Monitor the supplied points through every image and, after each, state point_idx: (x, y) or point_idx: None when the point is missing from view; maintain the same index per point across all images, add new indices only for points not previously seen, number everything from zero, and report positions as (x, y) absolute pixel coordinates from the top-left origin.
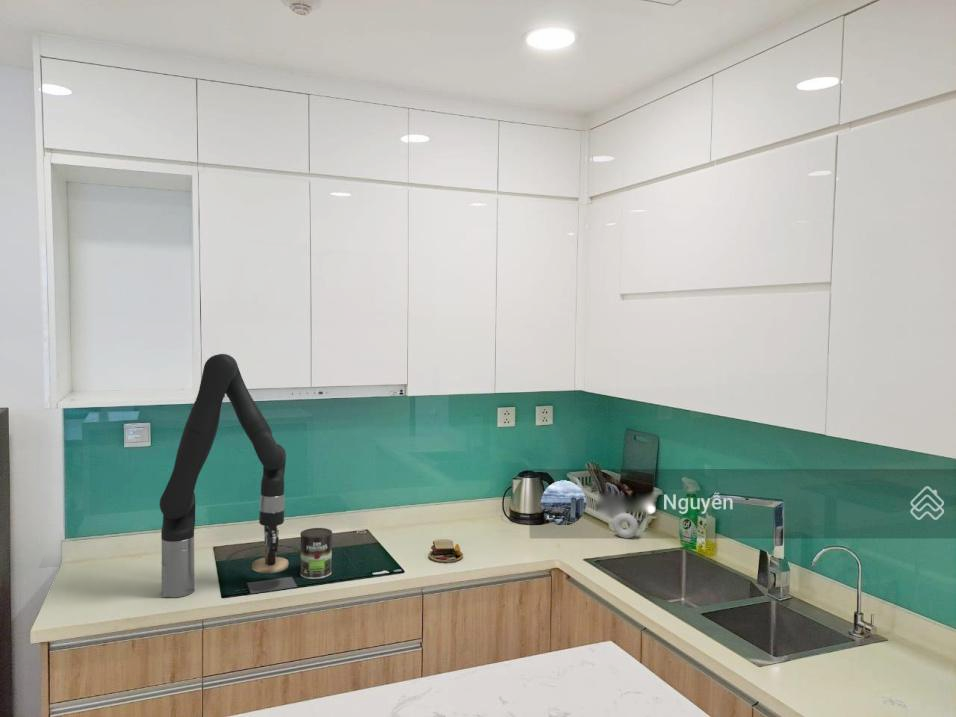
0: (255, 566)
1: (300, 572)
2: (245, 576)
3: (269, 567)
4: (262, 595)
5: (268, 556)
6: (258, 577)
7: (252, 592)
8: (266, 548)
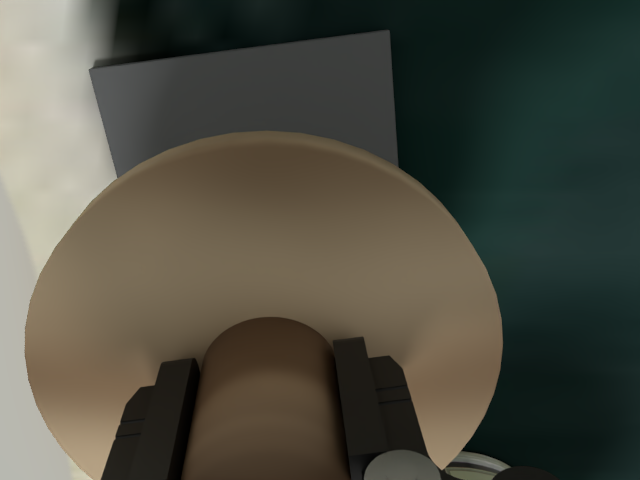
0: (147, 196)
1: (452, 465)
2: (613, 11)
3: (93, 366)
4: (62, 176)
5: (138, 447)
6: (530, 140)
7: (111, 87)
8: (374, 466)
